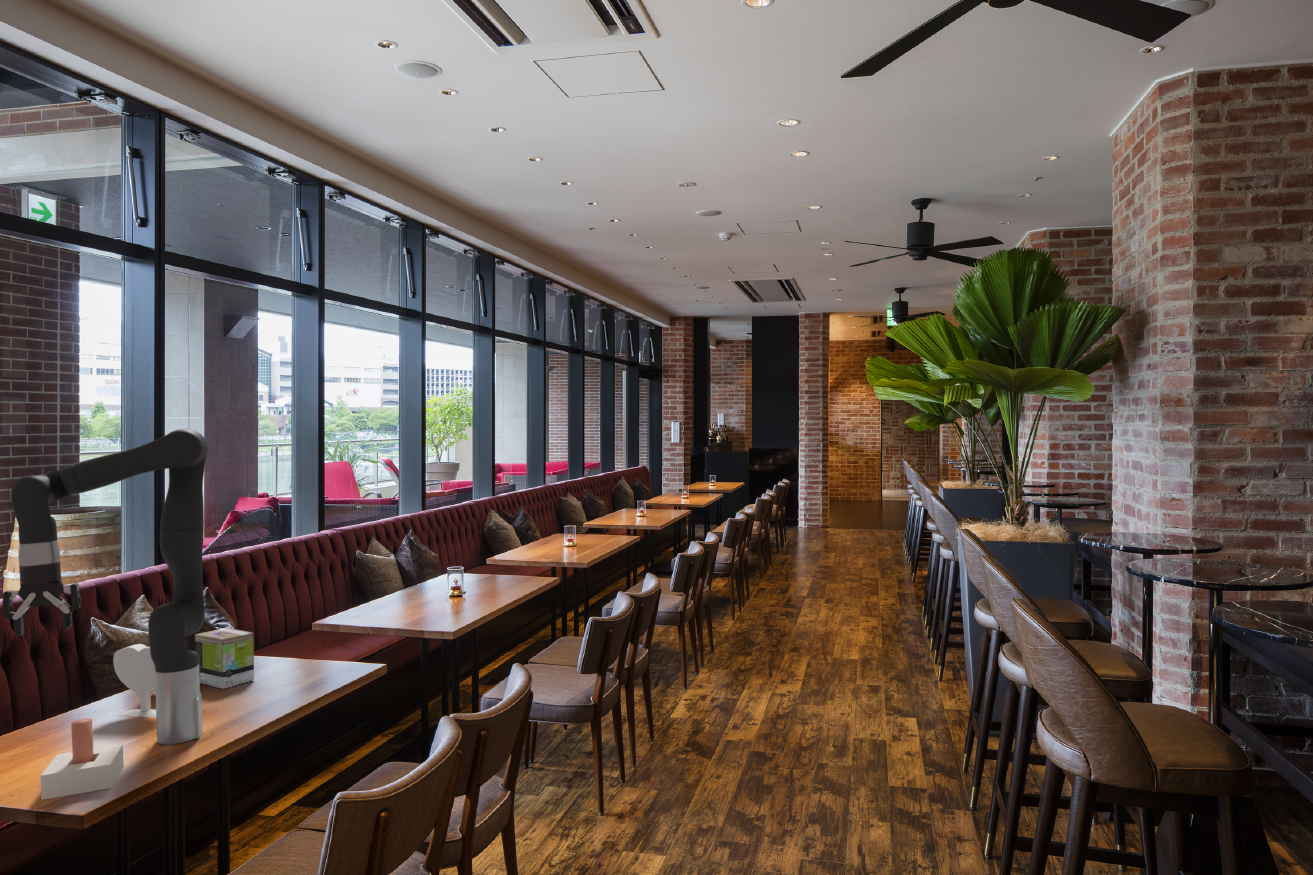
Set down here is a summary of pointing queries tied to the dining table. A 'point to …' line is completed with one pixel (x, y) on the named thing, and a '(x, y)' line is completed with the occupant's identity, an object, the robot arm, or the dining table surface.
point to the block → (82, 773)
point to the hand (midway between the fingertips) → (44, 632)
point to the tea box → (225, 657)
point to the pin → (82, 741)
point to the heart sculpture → (137, 676)
